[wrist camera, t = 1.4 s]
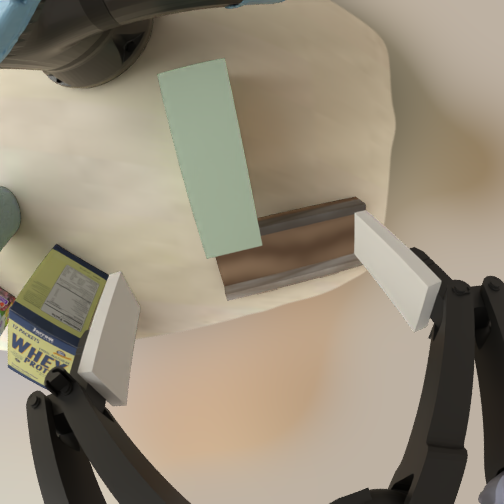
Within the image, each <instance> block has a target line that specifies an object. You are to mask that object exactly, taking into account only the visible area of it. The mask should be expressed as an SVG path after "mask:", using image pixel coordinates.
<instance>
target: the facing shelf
mask: <svg viewBox="0 0 504 504" xmlns="http://www.w3.org/2000/svg"><path fill="white" fill-rule="evenodd" d="M364 210H366V204H365V203H364V202H362V201H361V200H359V199H358V198H357V197H352V198H347V199H343V200H338V201H333V202H328V203H323V204H319V205H314V206H310V207H305V208H300V209H296V210H291V211H287V212H282V213H278V214H274V215H269V216H265V217H261V218H257V220H258V225H259V230H260V236H261V241H262V246H258V247H254V248H250V249H246V250H242V251H237V252H233V253H229V254H225V255H221V256H217V257H216V260H217V264H218V267H219V270H220V274H221V277H222V280H223V283H224V287H225V294H226V298H227V301H229V300H233V299H237V298H241V297H245V296H249V295H254V294H260V293H264V292H268V291H272V290H276V289H277V288H281V287H285V286H289V285H293V284H297V283H300V282H304V281H308V280H311V279H315V278H319V277H320V278H321V277H325V276H329V275H332V274H336V273H339V272H340V271H344V270H347V269H351V268H354V267H358V266H361V265H363V264H362V263H361V262H360V260H359V259H358V258H357V257H356V255H355V254H354V240H355V213H356V212H360V211H364Z"/></svg>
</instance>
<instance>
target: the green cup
mask: <svg viewBox="0 0 504 504" xmlns="http://www.w3.org/2000/svg"><path fill="white" fill-rule="evenodd" d="M20 214H21V213H20V209H19V205H18V202H17V200H16V199H15V196H14V195H13V194H12V192H11V191H9V190H8V189H6V188H5V187H0V251H1V250H2V248H3V247H4V246H5V245H6V244H7V242H8V241H9V240H10V238H11V237H12V236H13V235H14V234H15V233H16V231H17V230H18V228H19V225H20V219H21V216H20Z"/></svg>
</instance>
